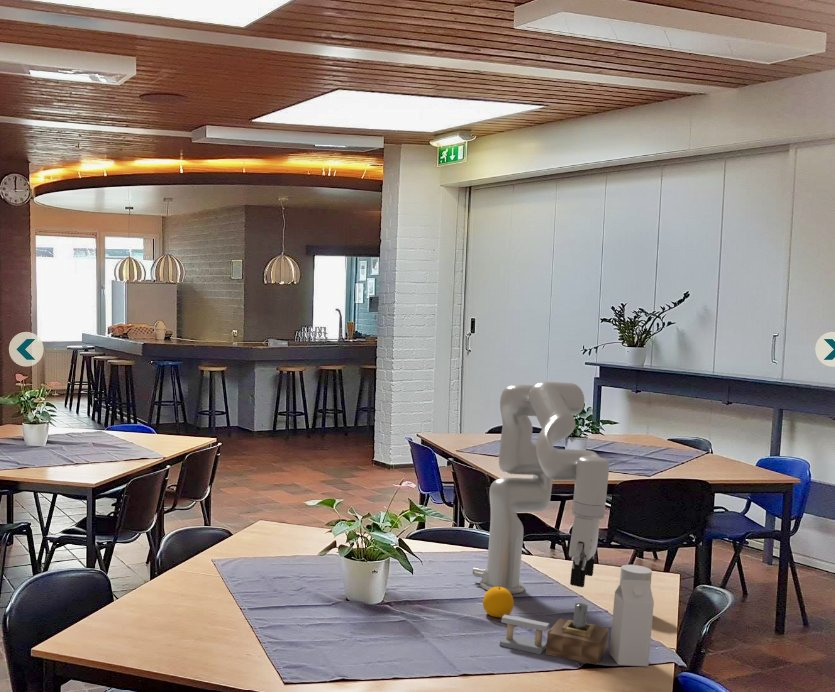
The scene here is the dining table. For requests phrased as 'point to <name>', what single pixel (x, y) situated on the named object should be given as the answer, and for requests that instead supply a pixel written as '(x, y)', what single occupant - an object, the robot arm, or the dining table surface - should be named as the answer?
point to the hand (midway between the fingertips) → (581, 580)
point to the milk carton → (632, 623)
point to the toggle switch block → (577, 642)
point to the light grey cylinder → (635, 573)
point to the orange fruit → (498, 602)
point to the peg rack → (521, 642)
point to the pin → (580, 616)
